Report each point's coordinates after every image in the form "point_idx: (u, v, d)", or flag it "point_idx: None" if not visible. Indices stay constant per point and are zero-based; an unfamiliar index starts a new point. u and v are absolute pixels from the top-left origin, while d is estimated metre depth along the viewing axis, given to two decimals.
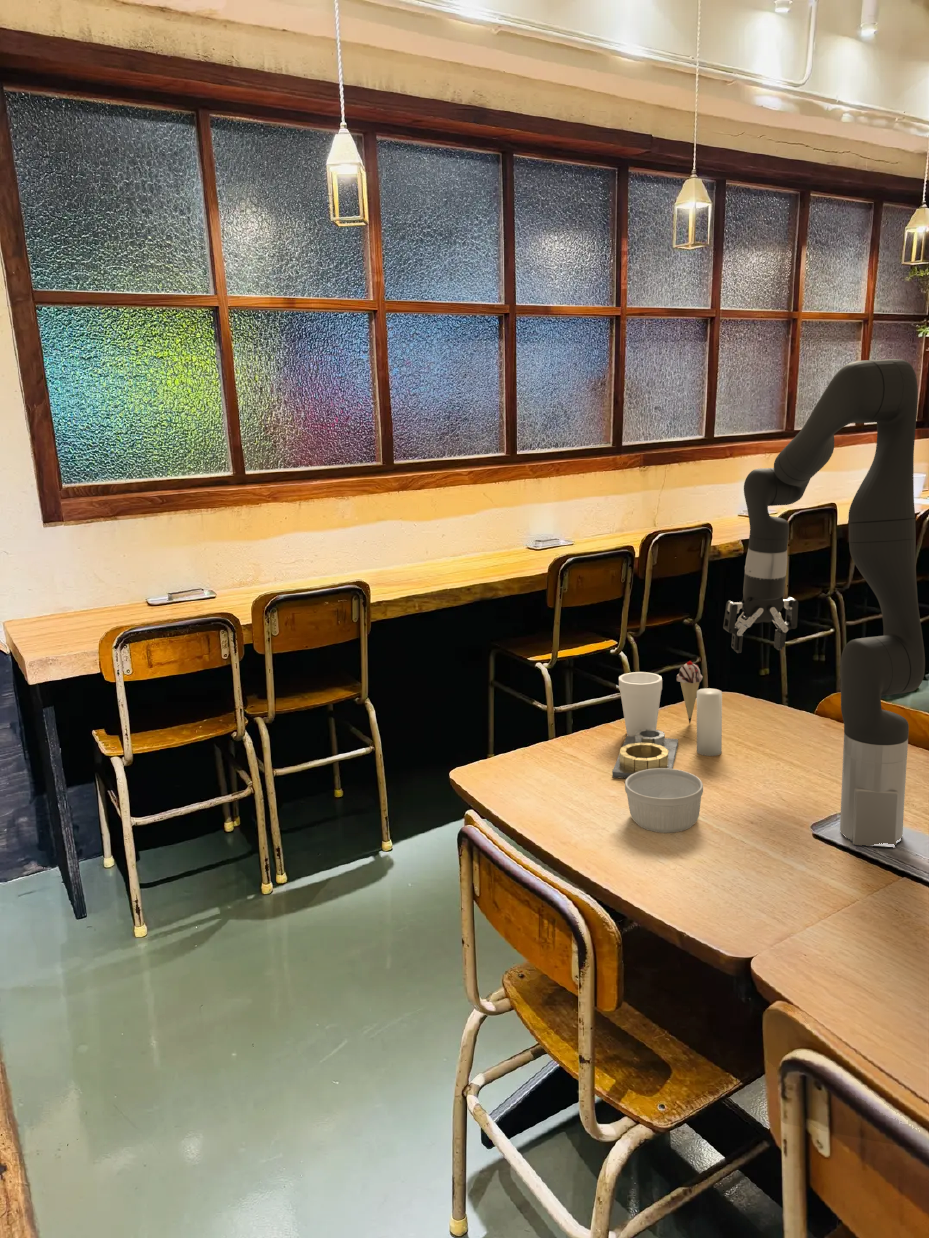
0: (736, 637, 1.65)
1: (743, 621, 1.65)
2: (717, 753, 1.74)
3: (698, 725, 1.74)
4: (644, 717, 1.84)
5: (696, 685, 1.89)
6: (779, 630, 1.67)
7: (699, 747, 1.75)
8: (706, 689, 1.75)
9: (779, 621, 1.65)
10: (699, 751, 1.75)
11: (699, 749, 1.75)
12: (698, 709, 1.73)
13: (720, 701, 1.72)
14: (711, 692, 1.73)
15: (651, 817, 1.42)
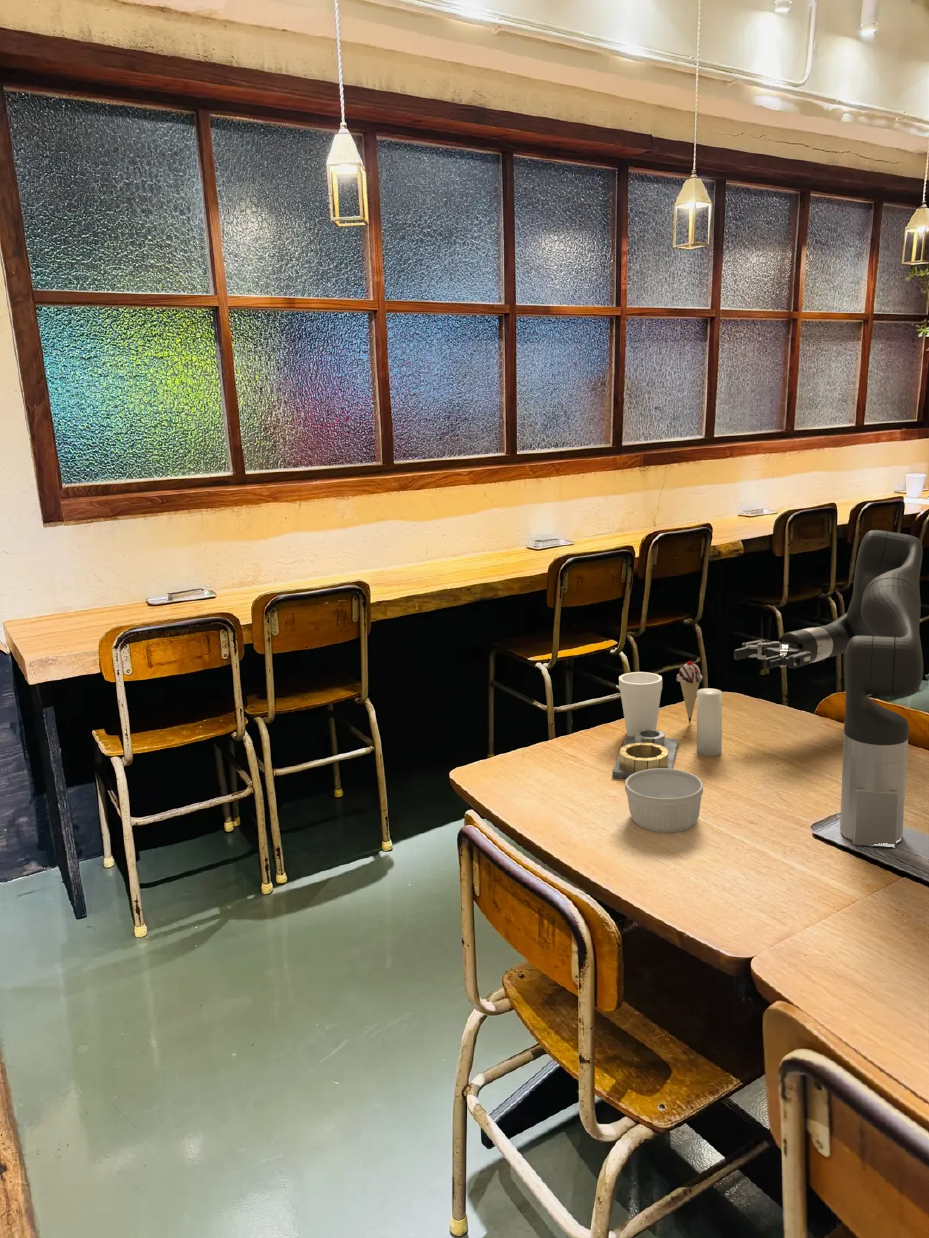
0: None
1: None
2: (717, 753, 1.74)
3: (698, 725, 1.74)
4: (644, 717, 1.84)
5: (696, 685, 1.89)
6: None
7: (699, 747, 1.75)
8: (706, 689, 1.75)
9: (783, 649, 1.76)
10: (699, 751, 1.75)
11: (699, 749, 1.75)
12: (698, 709, 1.73)
13: (720, 701, 1.72)
14: (711, 692, 1.73)
15: (651, 817, 1.42)
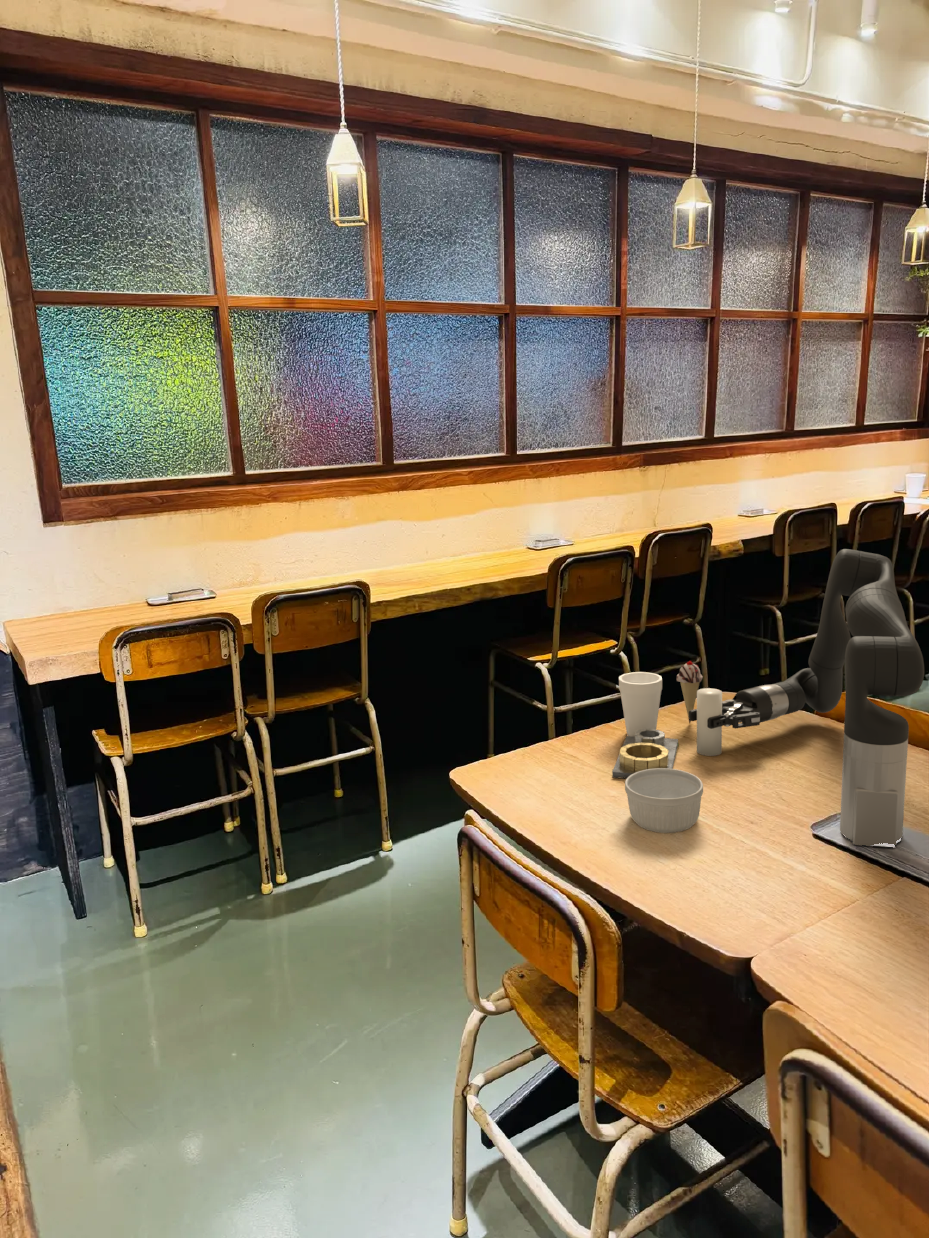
0: None
1: None
2: (717, 753, 1.74)
3: (698, 725, 1.74)
4: (644, 717, 1.84)
5: (696, 685, 1.89)
6: None
7: (699, 747, 1.75)
8: (706, 689, 1.75)
9: (732, 708, 1.74)
10: (699, 751, 1.75)
11: (699, 749, 1.75)
12: (698, 709, 1.73)
13: (720, 701, 1.72)
14: (711, 692, 1.73)
15: (651, 817, 1.42)
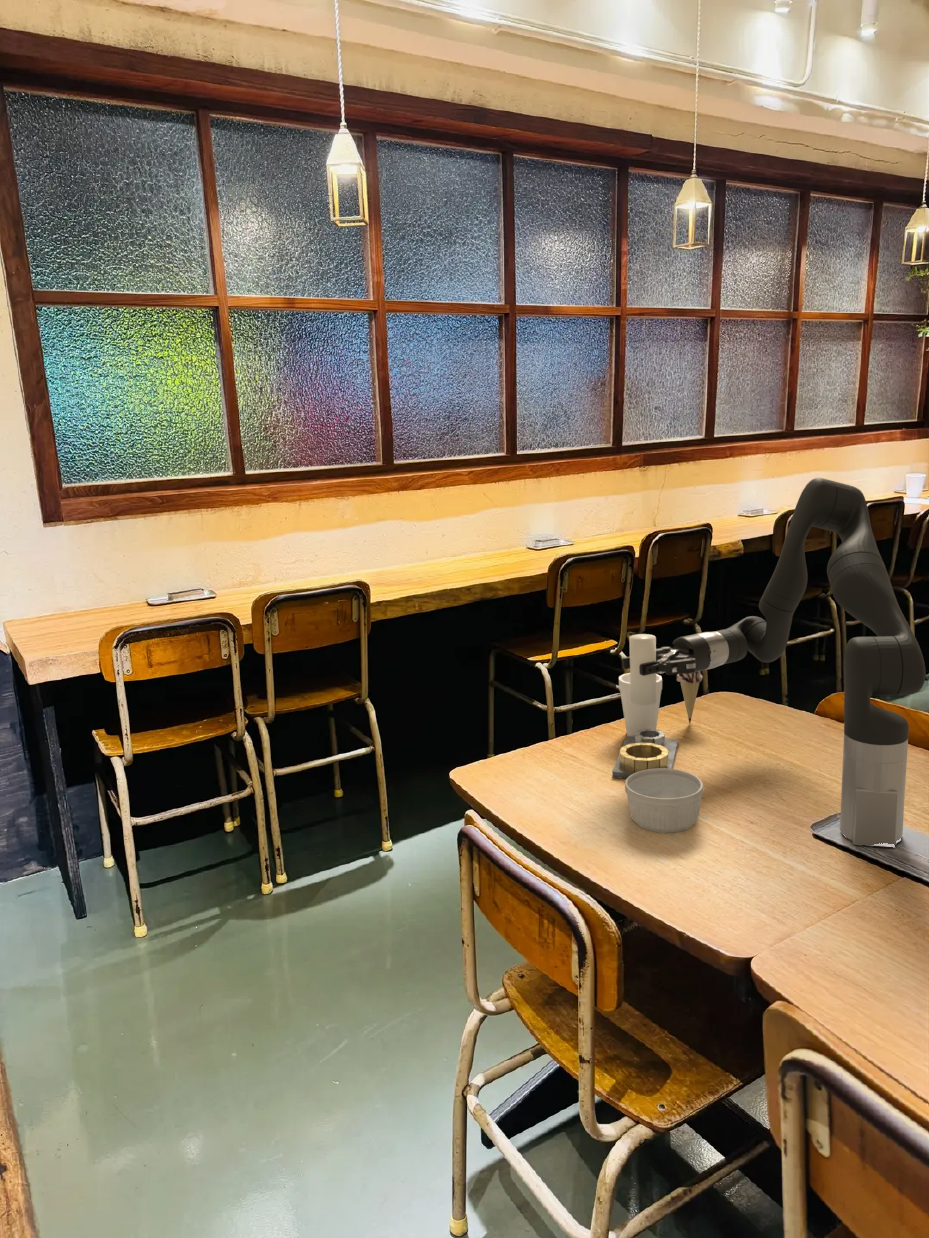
0: None
1: None
2: (651, 702, 1.64)
3: (631, 672, 1.64)
4: (644, 717, 1.84)
5: (696, 685, 1.89)
6: None
7: (632, 696, 1.65)
8: (640, 635, 1.65)
9: (666, 655, 1.64)
10: (632, 700, 1.65)
11: (632, 698, 1.65)
12: (631, 655, 1.64)
13: (653, 646, 1.62)
14: (644, 637, 1.63)
15: (651, 817, 1.42)
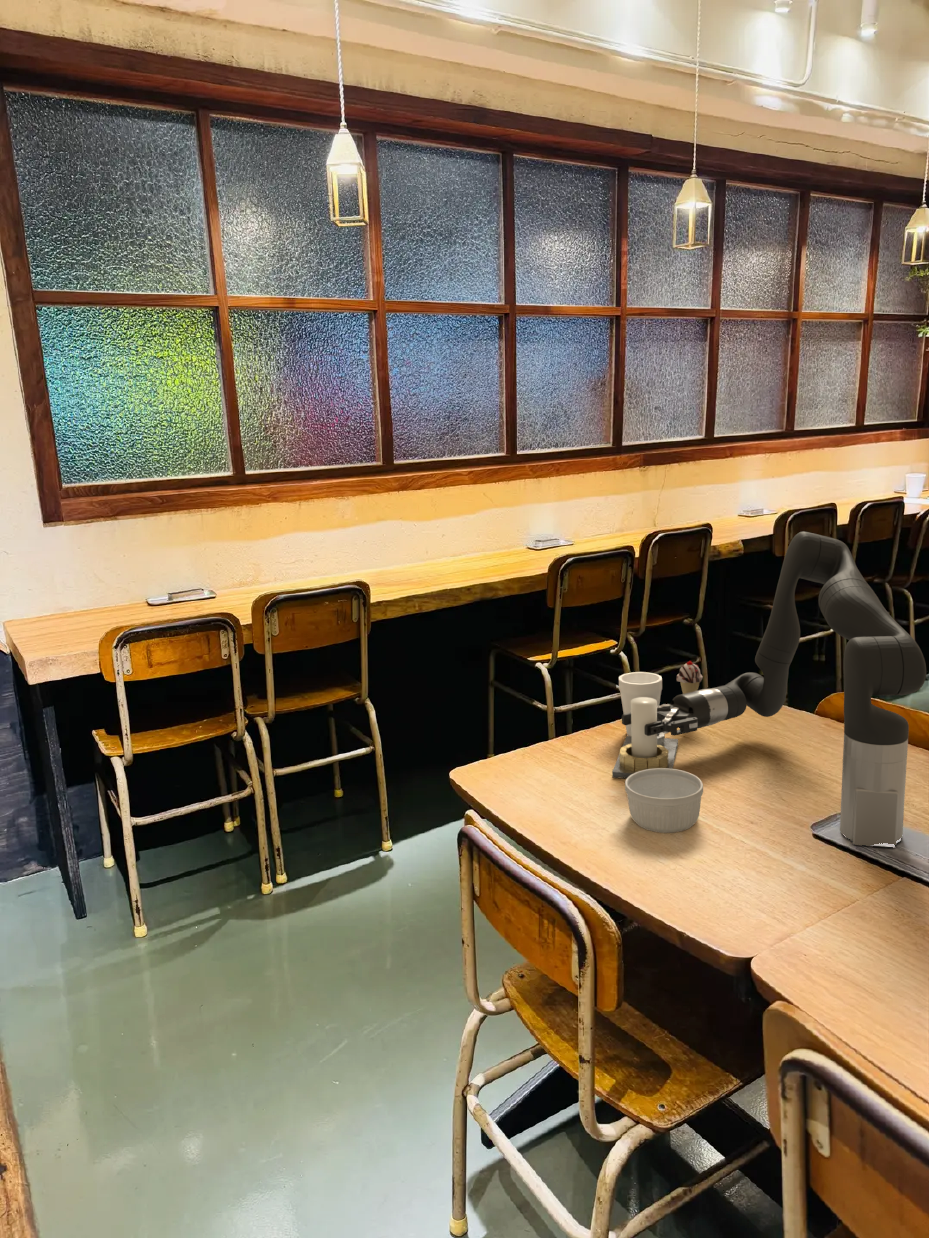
0: None
1: None
2: None
3: (632, 735, 1.67)
4: None
5: (696, 685, 1.89)
6: None
7: None
8: (641, 698, 1.68)
9: (669, 714, 1.66)
10: None
11: None
12: (632, 719, 1.66)
13: (655, 711, 1.65)
14: (645, 701, 1.66)
15: (651, 817, 1.42)
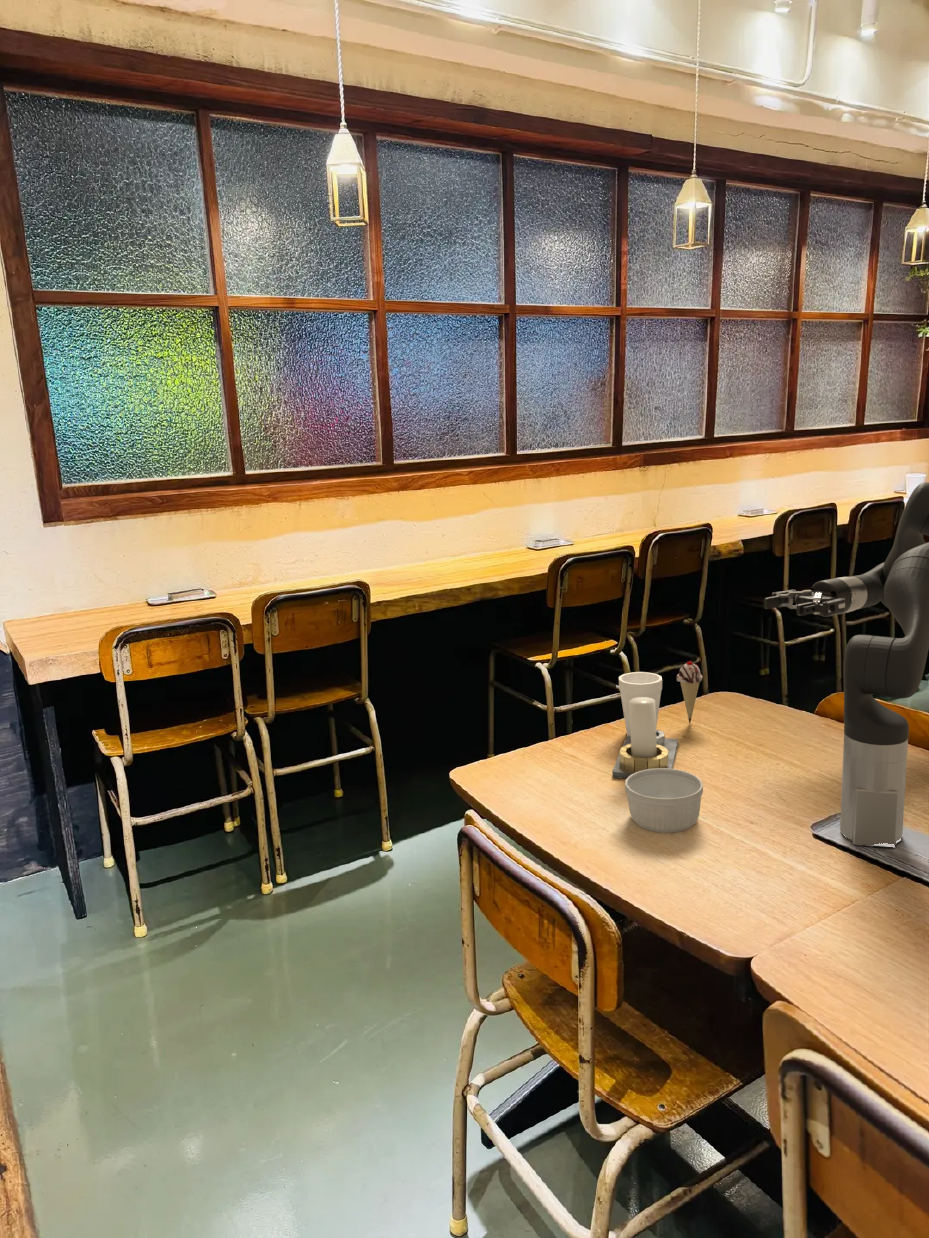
0: None
1: None
2: None
3: (631, 735, 1.67)
4: None
5: (696, 685, 1.89)
6: None
7: None
8: (640, 698, 1.68)
9: (816, 596, 1.69)
10: None
11: None
12: (631, 719, 1.67)
13: (653, 711, 1.65)
14: (643, 701, 1.66)
15: (651, 817, 1.42)
